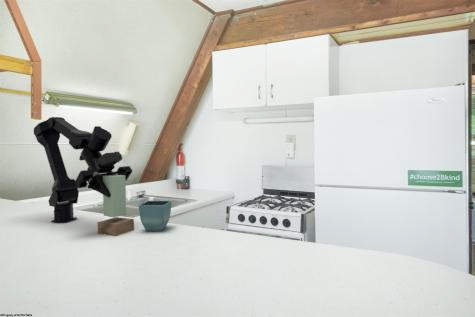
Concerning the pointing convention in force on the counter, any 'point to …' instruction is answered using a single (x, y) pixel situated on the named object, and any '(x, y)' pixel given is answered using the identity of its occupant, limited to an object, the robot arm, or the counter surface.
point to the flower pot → (155, 214)
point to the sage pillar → (115, 196)
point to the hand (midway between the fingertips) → (117, 195)
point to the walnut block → (115, 226)
